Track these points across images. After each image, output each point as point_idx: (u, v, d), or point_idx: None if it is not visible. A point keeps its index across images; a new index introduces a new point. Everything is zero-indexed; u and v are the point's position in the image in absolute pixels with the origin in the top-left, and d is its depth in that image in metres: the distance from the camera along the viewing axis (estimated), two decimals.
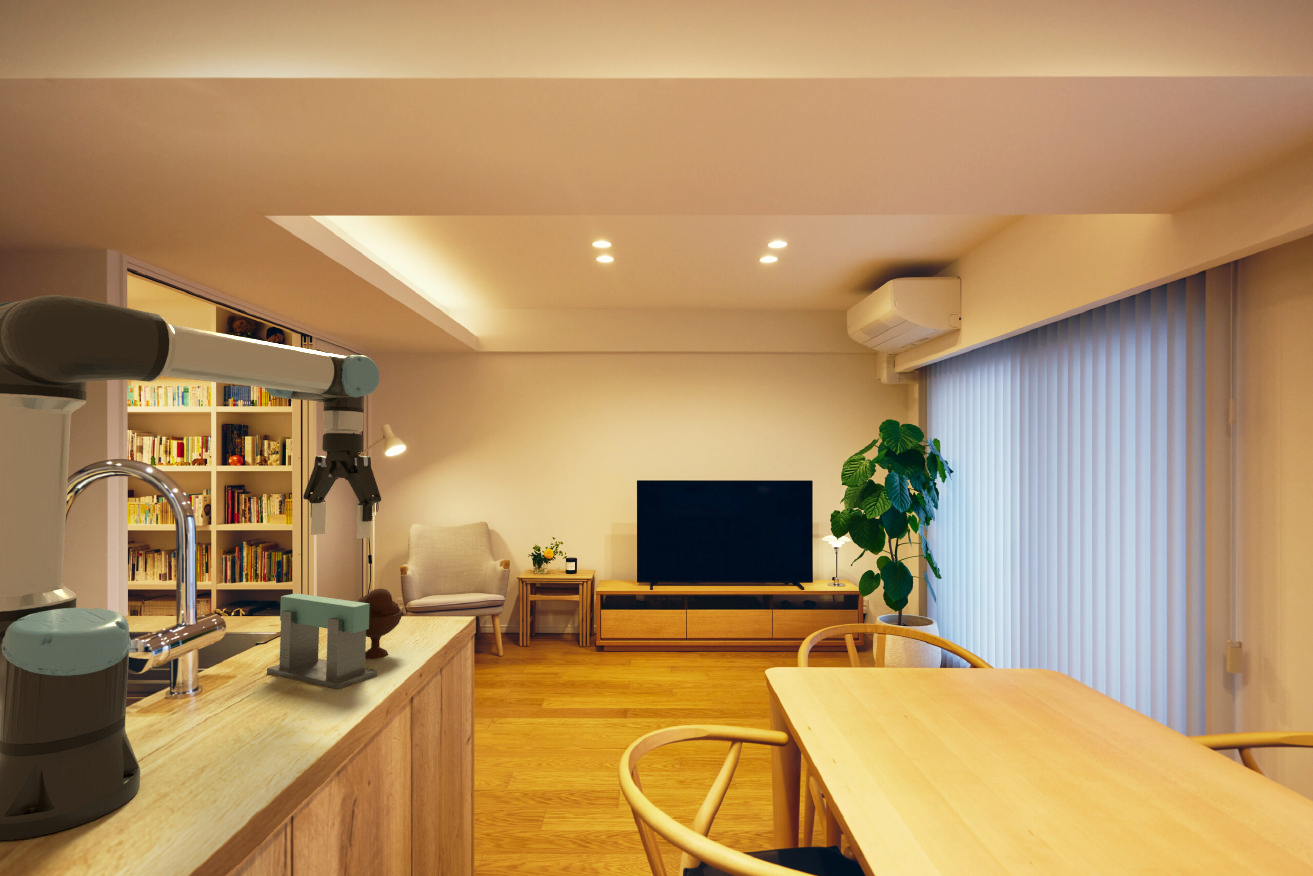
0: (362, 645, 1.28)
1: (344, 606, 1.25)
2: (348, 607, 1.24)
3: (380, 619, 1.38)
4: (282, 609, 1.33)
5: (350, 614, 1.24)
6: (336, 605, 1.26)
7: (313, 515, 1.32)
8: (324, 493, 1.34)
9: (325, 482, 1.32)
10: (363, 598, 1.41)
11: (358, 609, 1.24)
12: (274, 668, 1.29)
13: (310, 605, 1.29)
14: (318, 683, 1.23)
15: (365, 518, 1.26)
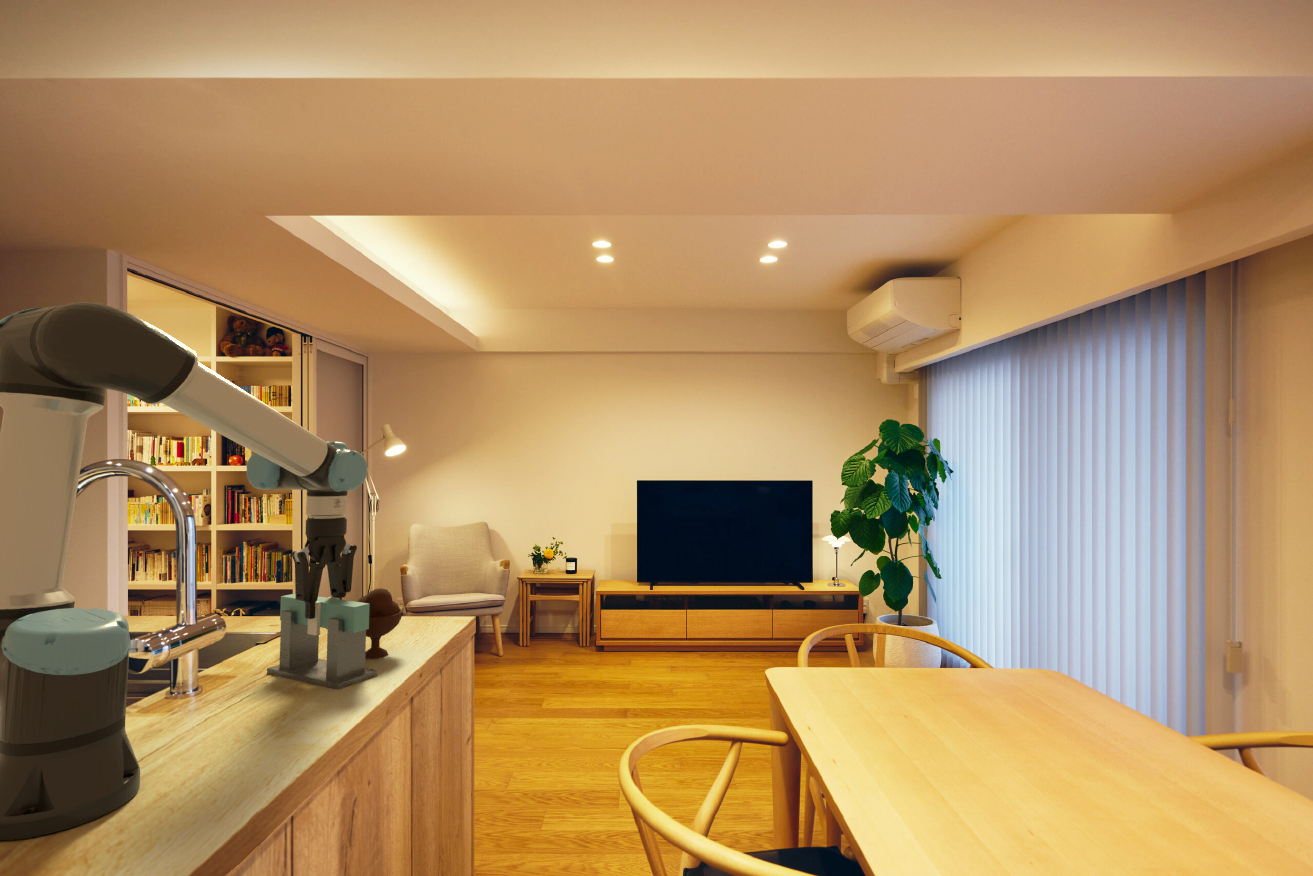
0: (362, 645, 1.28)
1: (344, 606, 1.25)
2: (348, 607, 1.24)
3: (380, 619, 1.38)
4: (282, 609, 1.33)
5: (350, 614, 1.24)
6: (336, 605, 1.26)
7: None
8: (334, 584, 1.32)
9: (328, 569, 1.32)
10: (363, 598, 1.41)
11: (358, 609, 1.24)
12: (274, 668, 1.29)
13: None
14: (318, 683, 1.23)
15: None
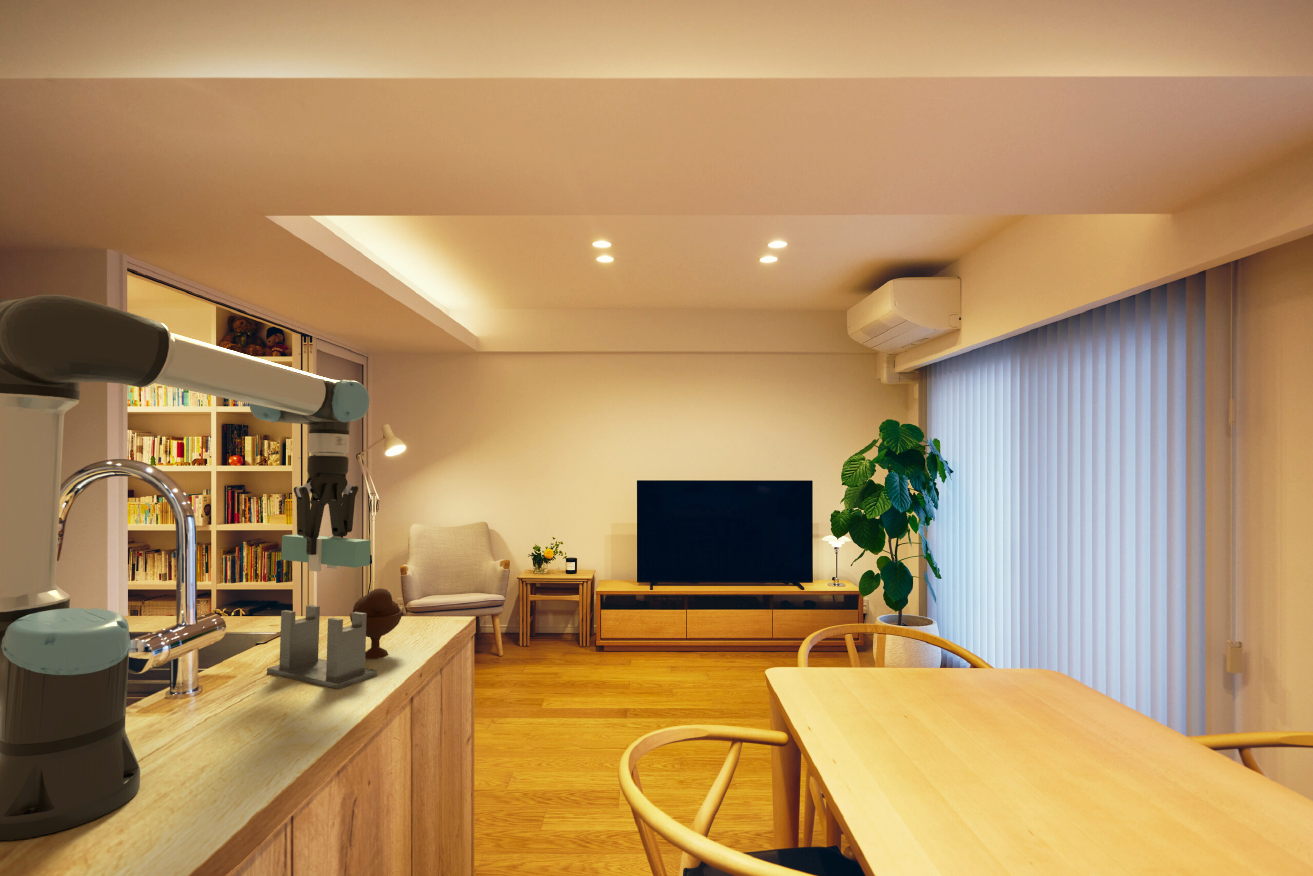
0: (362, 645, 1.28)
1: (345, 541, 1.25)
2: (349, 542, 1.25)
3: (380, 619, 1.38)
4: (283, 548, 1.33)
5: (351, 549, 1.24)
6: (337, 541, 1.26)
7: None
8: (336, 523, 1.32)
9: (329, 508, 1.32)
10: (363, 598, 1.41)
11: (359, 544, 1.25)
12: (274, 668, 1.29)
13: None
14: (318, 683, 1.23)
15: None
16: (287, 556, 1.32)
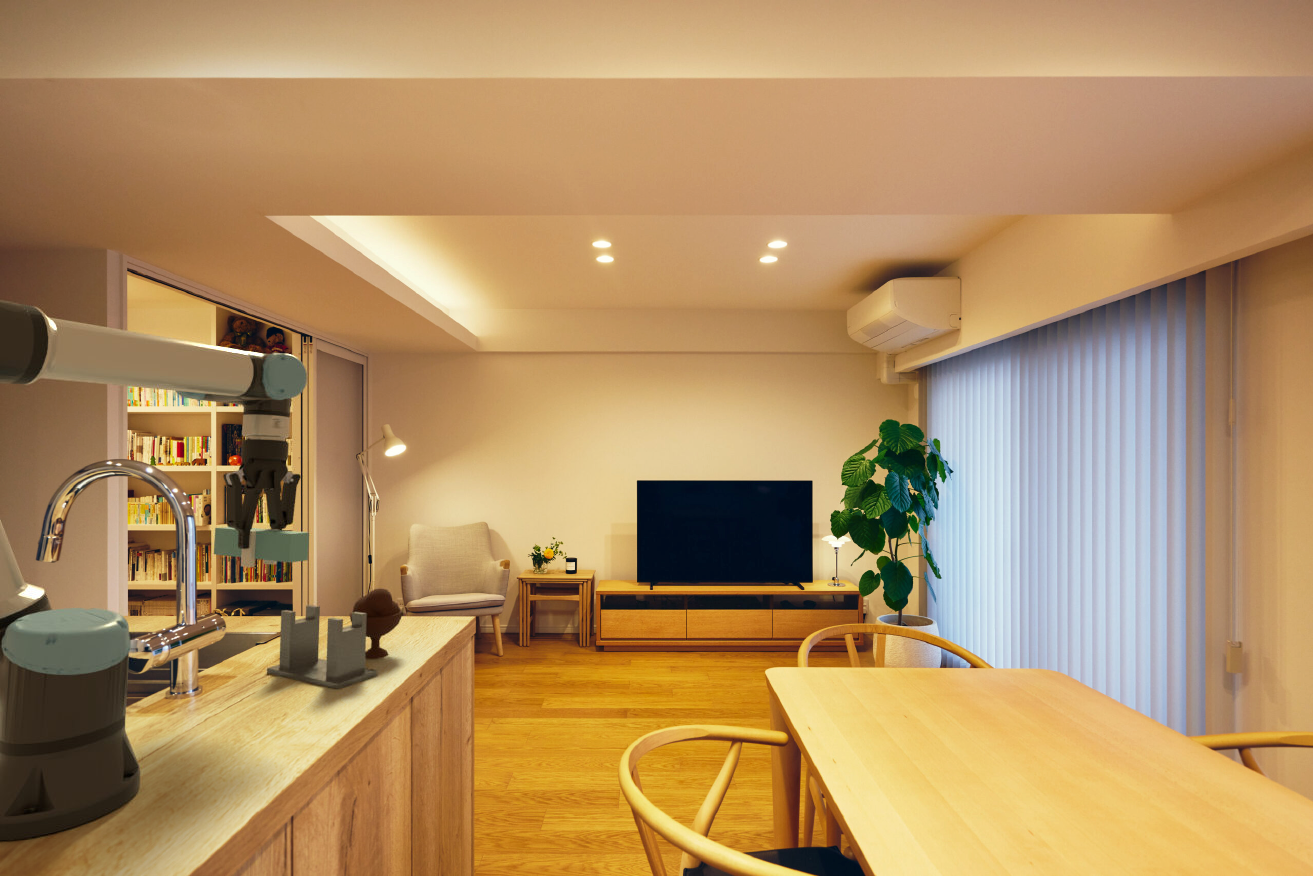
0: (362, 645, 1.28)
1: (280, 534, 1.13)
2: (284, 534, 1.13)
3: (380, 619, 1.38)
4: (216, 542, 1.21)
5: (286, 542, 1.12)
6: (272, 533, 1.14)
7: None
8: (273, 514, 1.20)
9: (267, 497, 1.20)
10: (363, 598, 1.41)
11: (295, 537, 1.13)
12: (274, 668, 1.29)
13: None
14: (318, 683, 1.23)
15: None
16: (219, 550, 1.20)
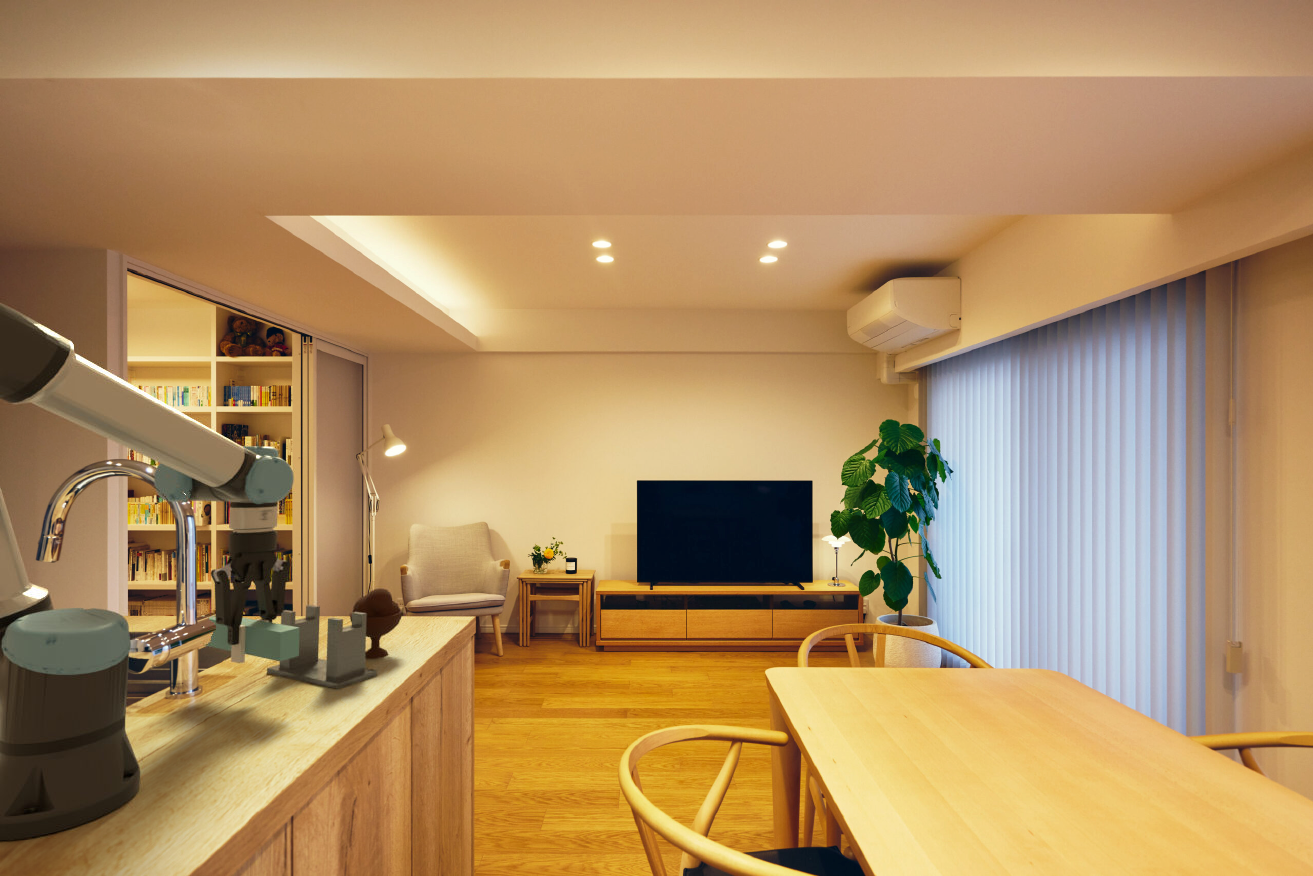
0: (362, 645, 1.28)
1: (270, 631, 1.11)
2: (274, 632, 1.11)
3: (380, 619, 1.38)
4: None
5: (276, 640, 1.11)
6: (261, 629, 1.12)
7: None
8: (263, 605, 1.18)
9: (256, 588, 1.18)
10: (363, 598, 1.41)
11: (285, 634, 1.11)
12: (274, 668, 1.29)
13: None
14: (318, 683, 1.23)
15: None
16: None
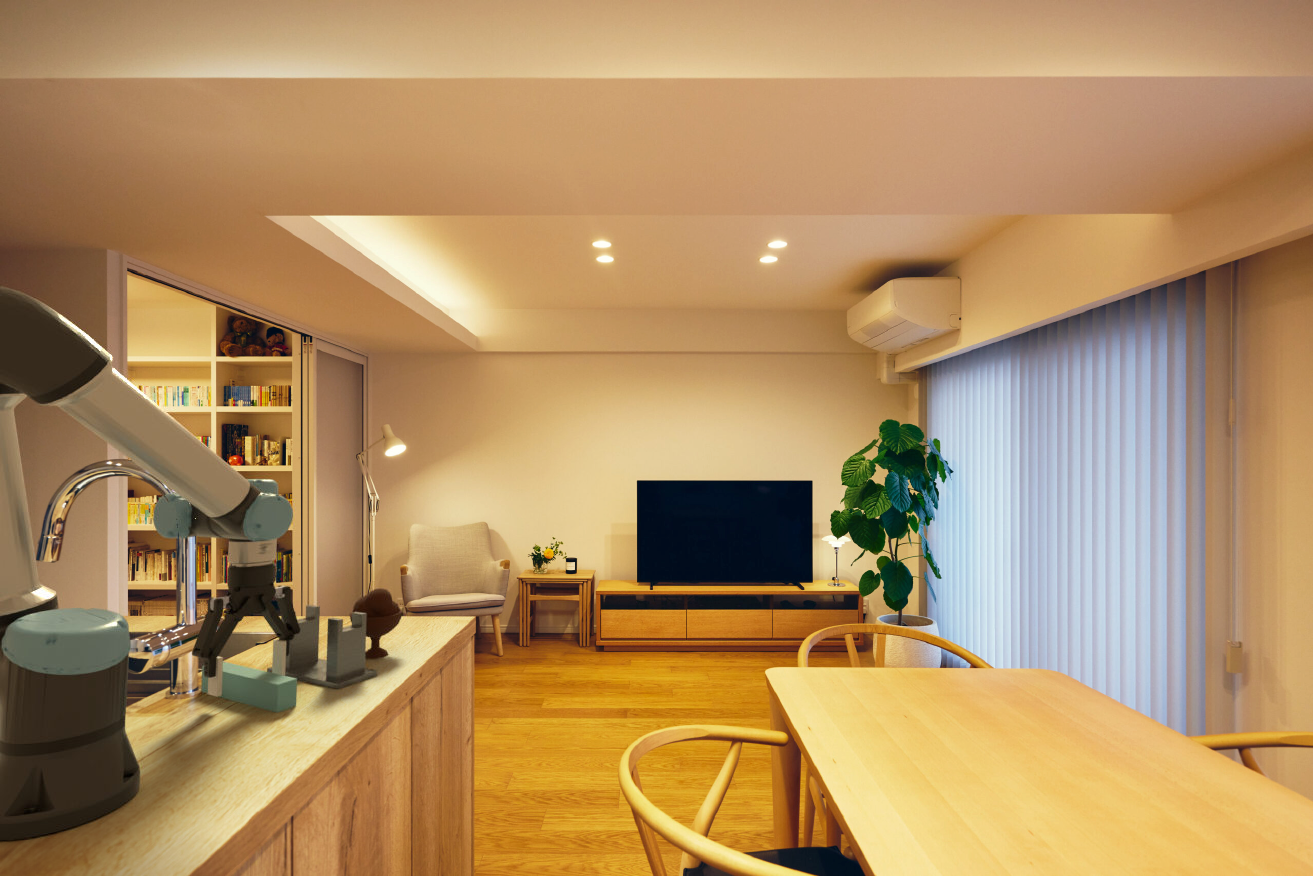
0: (362, 645, 1.28)
1: (267, 683, 1.11)
2: (271, 684, 1.10)
3: (380, 619, 1.38)
4: (203, 681, 1.19)
5: (273, 692, 1.10)
6: (259, 681, 1.12)
7: None
8: (277, 629, 1.20)
9: (264, 617, 1.20)
10: (363, 598, 1.41)
11: (282, 686, 1.10)
12: None
13: (232, 678, 1.15)
14: (318, 683, 1.23)
15: None
16: (207, 690, 1.18)
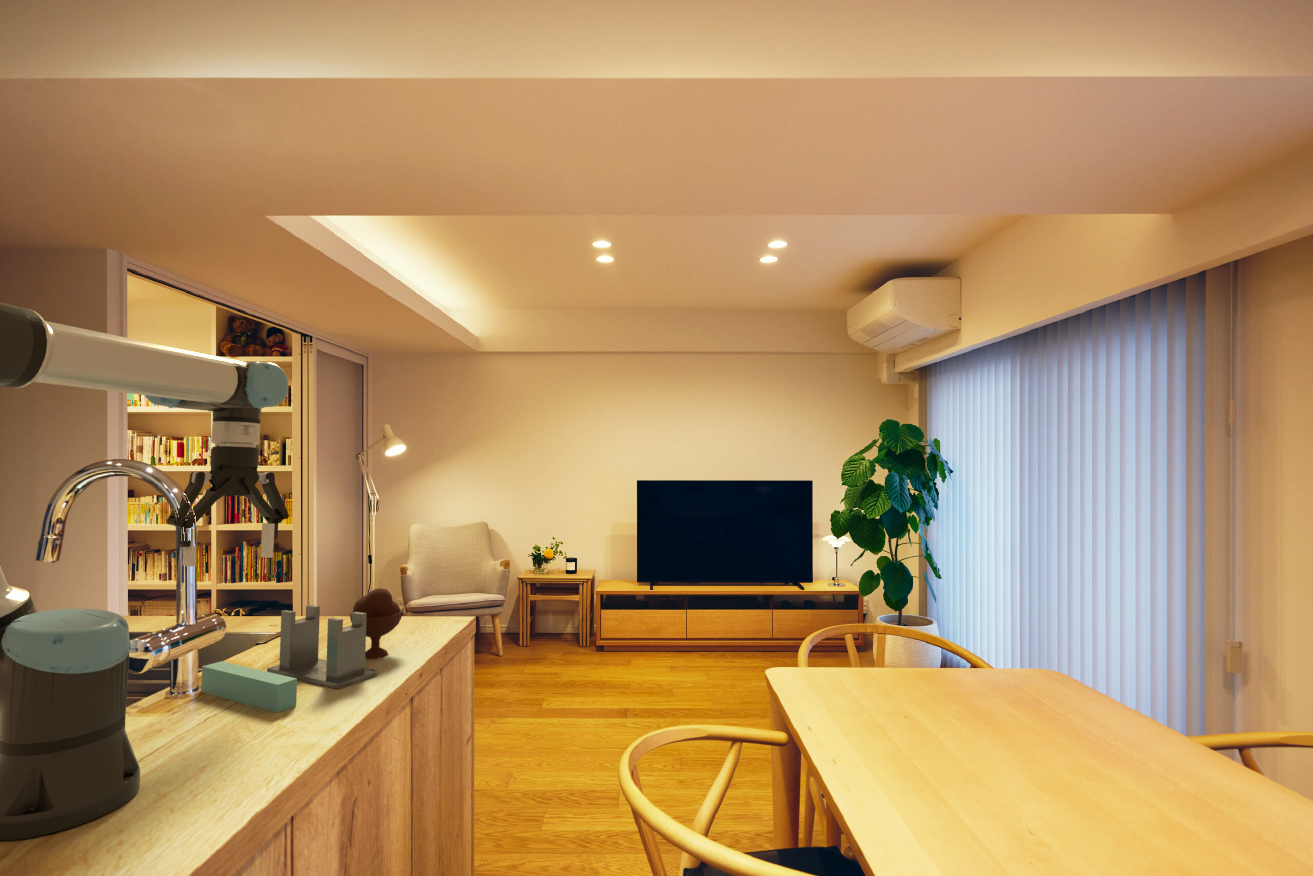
0: (362, 645, 1.28)
1: (267, 683, 1.11)
2: (271, 684, 1.10)
3: (380, 619, 1.38)
4: (203, 681, 1.19)
5: (273, 692, 1.10)
6: (259, 681, 1.12)
7: None
8: (265, 513, 1.22)
9: (250, 500, 1.21)
10: (363, 598, 1.41)
11: (283, 686, 1.10)
12: (274, 668, 1.29)
13: (232, 678, 1.15)
14: (318, 683, 1.23)
15: None
16: (207, 690, 1.18)
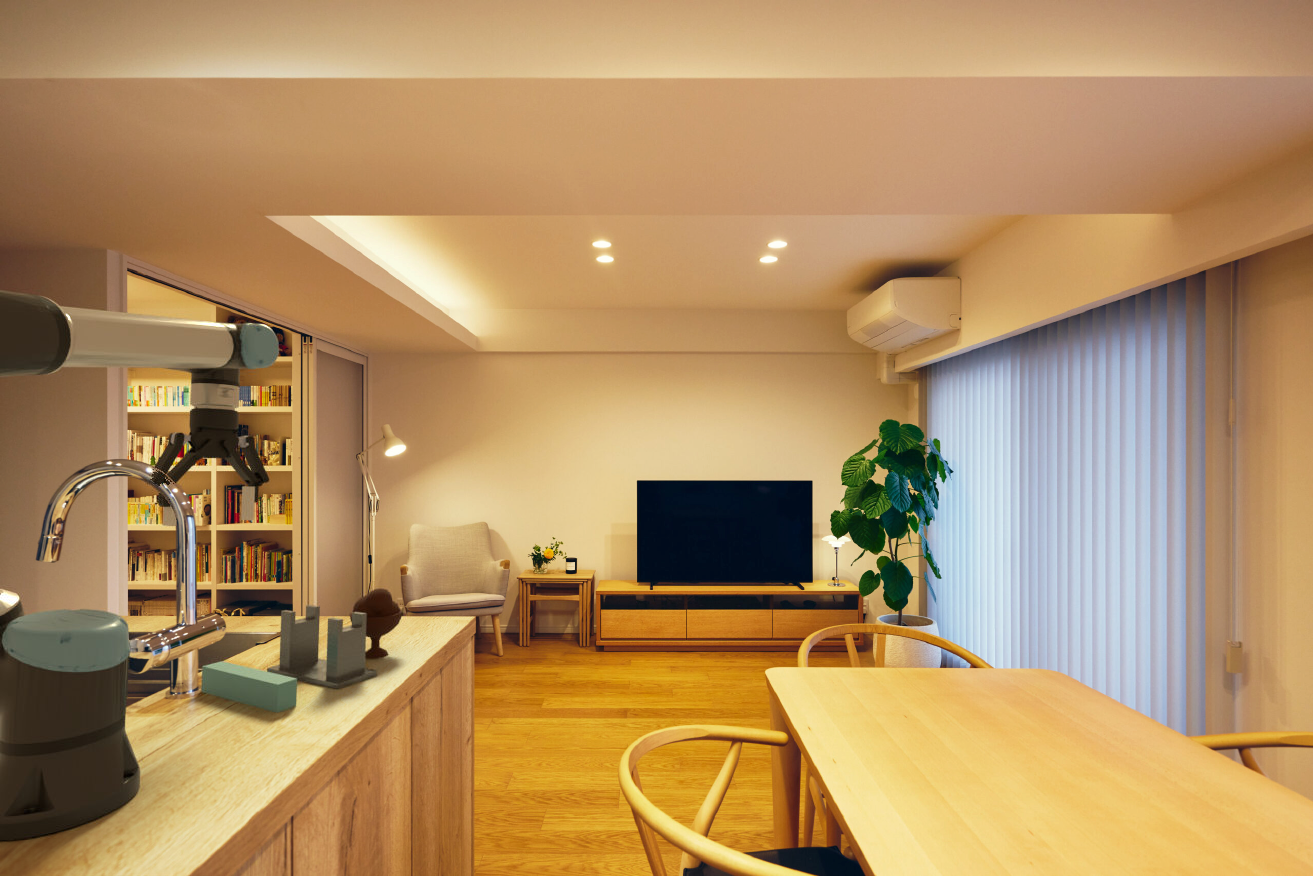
0: (362, 645, 1.28)
1: (267, 683, 1.11)
2: (271, 684, 1.10)
3: (380, 619, 1.38)
4: (203, 681, 1.19)
5: (273, 692, 1.10)
6: (259, 681, 1.12)
7: None
8: (245, 476, 1.23)
9: (230, 463, 1.22)
10: (363, 598, 1.41)
11: (283, 686, 1.10)
12: (274, 668, 1.29)
13: (232, 678, 1.15)
14: (318, 683, 1.23)
15: None
16: (207, 690, 1.18)
